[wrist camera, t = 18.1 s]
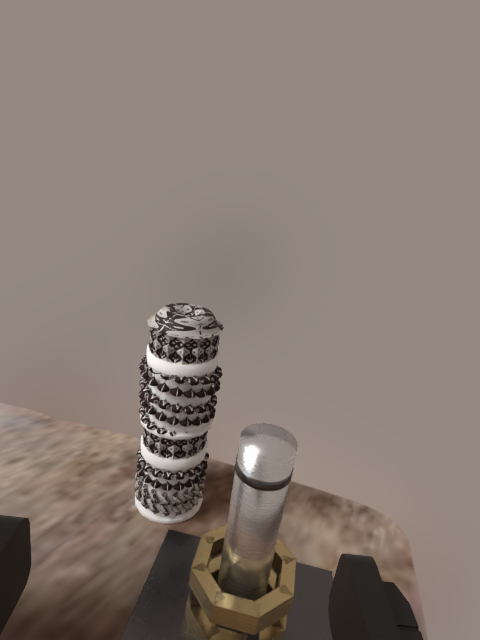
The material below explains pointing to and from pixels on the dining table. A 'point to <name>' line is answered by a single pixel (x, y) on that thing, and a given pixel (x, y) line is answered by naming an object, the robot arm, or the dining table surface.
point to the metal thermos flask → (256, 510)
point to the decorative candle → (176, 411)
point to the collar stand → (227, 597)
